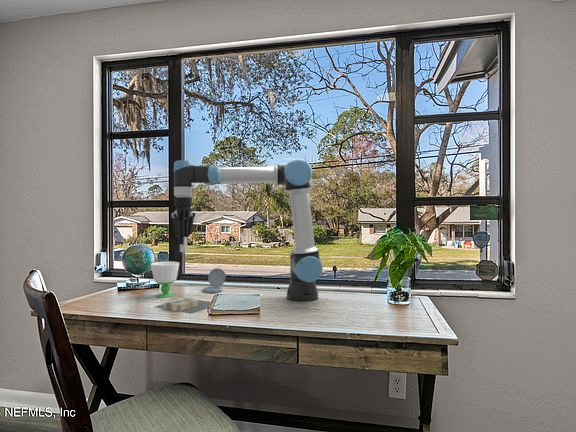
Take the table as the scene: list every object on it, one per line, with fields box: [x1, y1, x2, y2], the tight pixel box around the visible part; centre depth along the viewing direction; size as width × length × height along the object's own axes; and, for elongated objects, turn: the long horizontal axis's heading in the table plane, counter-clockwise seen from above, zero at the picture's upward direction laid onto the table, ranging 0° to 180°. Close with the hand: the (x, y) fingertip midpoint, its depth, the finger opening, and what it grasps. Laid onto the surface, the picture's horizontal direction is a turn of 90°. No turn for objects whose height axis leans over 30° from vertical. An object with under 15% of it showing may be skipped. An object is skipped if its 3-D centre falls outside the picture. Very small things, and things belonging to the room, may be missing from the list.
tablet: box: [163, 297, 199, 312], centre depth 186 cm, size 8×3×12 cm
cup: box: [150, 261, 180, 298], centre depth 212 cm, size 14×14×16 cm
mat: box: [154, 299, 212, 315], centre depth 190 cm, size 22×20×1 cm
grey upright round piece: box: [202, 267, 226, 294], centre depth 222 cm, size 10×11×15 cm
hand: (183, 251), depth 186 cm, fingers closed
